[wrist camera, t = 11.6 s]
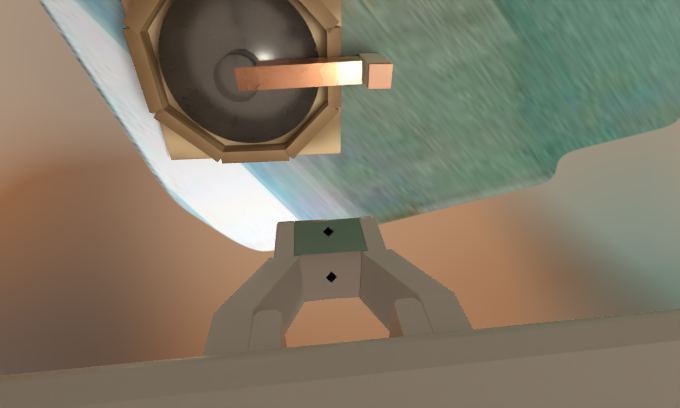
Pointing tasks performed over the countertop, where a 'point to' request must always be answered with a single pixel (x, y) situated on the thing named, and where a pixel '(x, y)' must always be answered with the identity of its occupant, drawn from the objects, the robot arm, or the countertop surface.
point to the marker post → (376, 70)
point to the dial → (246, 66)
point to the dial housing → (197, 143)
